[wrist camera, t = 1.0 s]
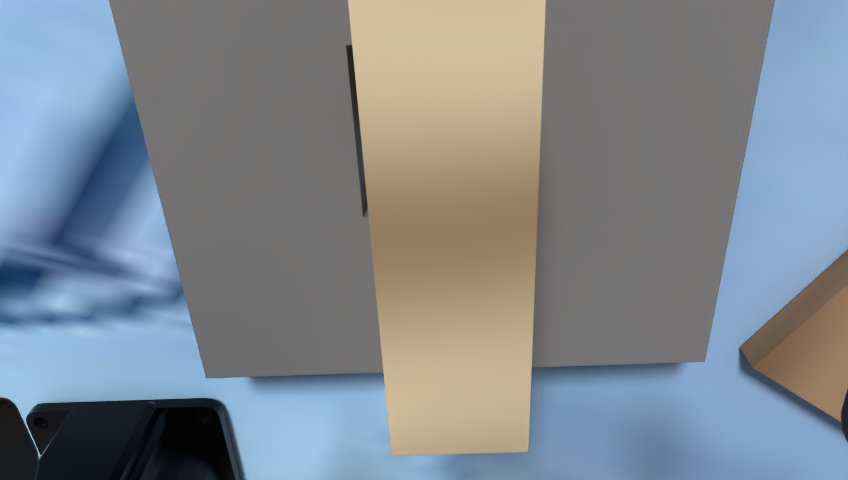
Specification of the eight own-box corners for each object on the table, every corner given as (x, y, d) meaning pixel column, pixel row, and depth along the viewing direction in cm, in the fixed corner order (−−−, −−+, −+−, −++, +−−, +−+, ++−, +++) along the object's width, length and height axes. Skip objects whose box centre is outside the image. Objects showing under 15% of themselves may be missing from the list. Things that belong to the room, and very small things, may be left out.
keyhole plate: (676, 310, 21) (704, 361, 19) (228, 325, 22) (206, 378, 19) (763, -237, 14) (824, -256, 12) (110, -201, 15) (54, -212, 13)
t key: (499, 231, 20) (542, 451, 12) (396, 235, 20) (377, 456, 12) (501, -69, 16) (566, -11, 9) (374, -63, 16) (328, 0, 9)
